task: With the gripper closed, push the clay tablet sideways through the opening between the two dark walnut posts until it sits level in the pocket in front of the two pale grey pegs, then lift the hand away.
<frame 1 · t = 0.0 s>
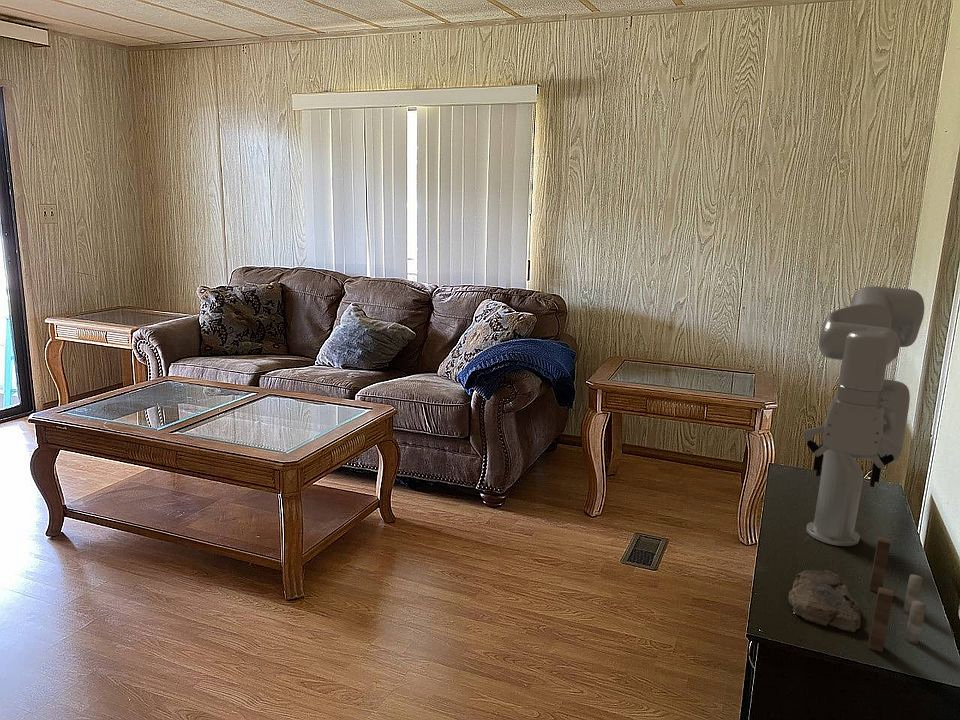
hand: (844, 479, 147), 31 cm above the cabinet, tool pointing down, fingers open, 9 cm apart
clay tablet: (823, 604, 162), on the cabinet
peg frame: (886, 618, 156), on the cabinet
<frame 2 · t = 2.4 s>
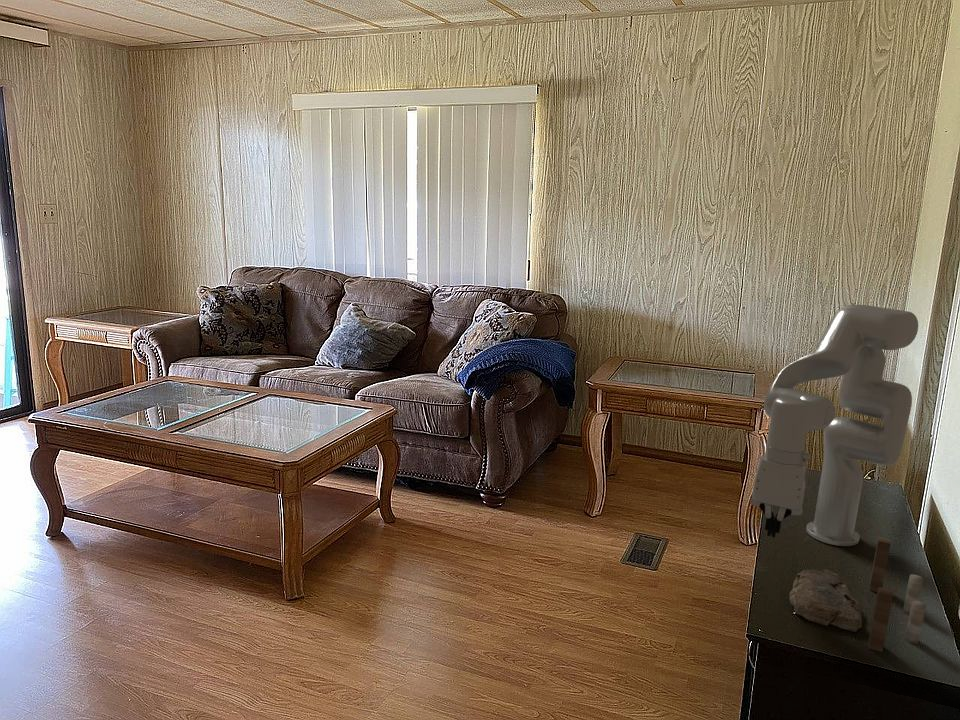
hand: (771, 534, 163), 13 cm above the cabinet, tool pointing down, fingers closed
nothing on the cabinet moved.
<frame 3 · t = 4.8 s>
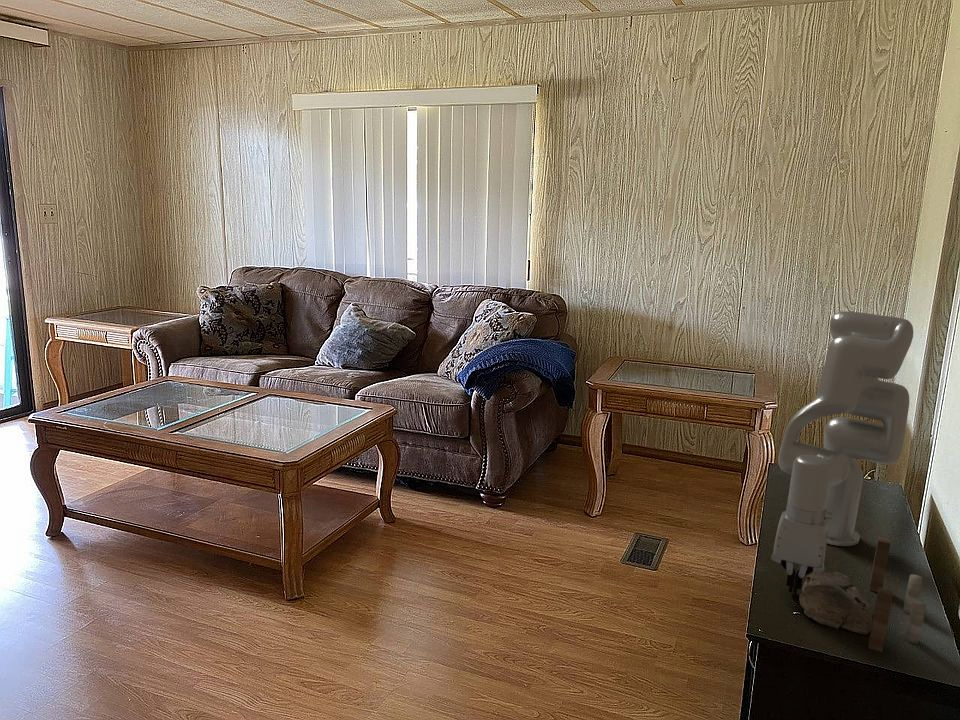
hand: (793, 590, 164), 1 cm above the cabinet, tool pointing down, fingers closed
clay tablet: (833, 606, 161), on the cabinet, touching gripper
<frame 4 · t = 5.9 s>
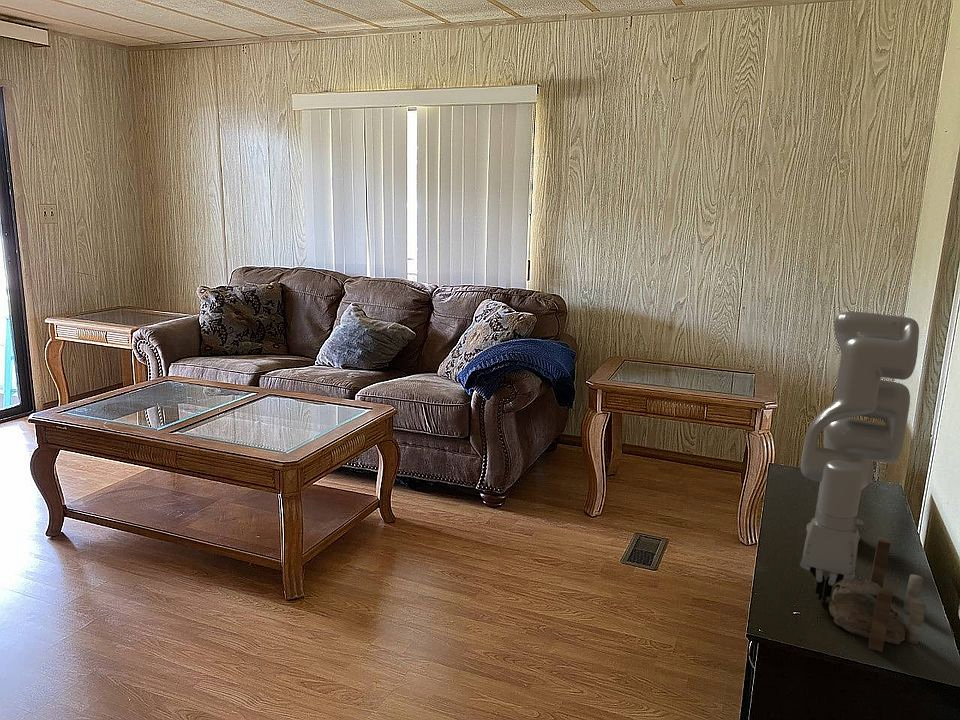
hand: (822, 597, 161), 1 cm above the cabinet, tool pointing down, fingers closed
clay tablet: (864, 615, 158), on the cabinet, touching gripper
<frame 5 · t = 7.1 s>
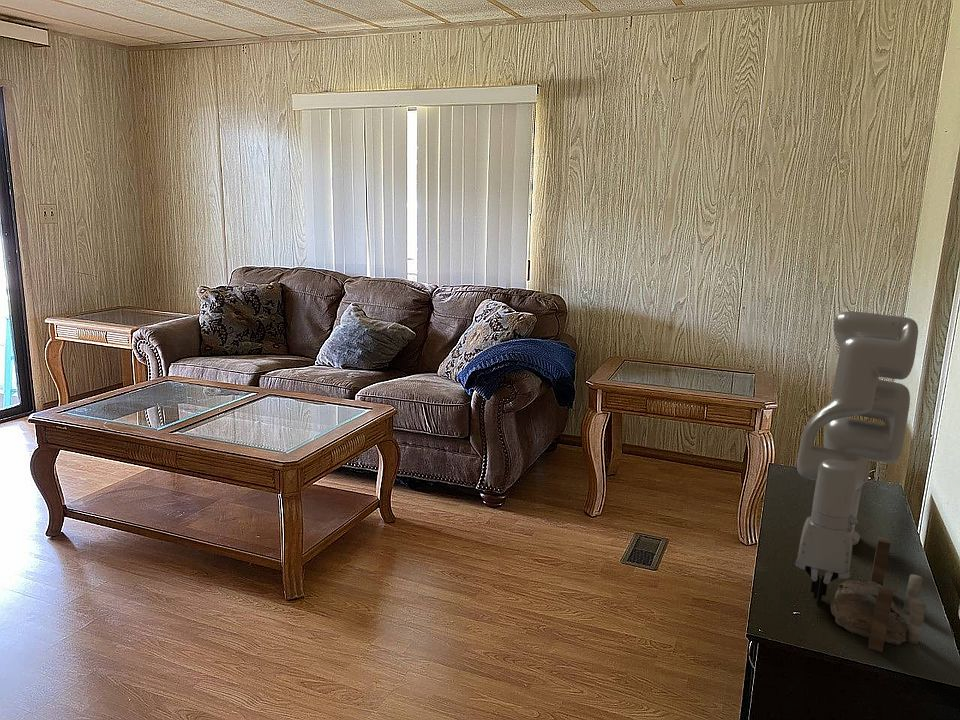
hand: (817, 596, 162), 1 cm above the cabinet, tool pointing down, fingers closed
clay tablet: (866, 616, 158), on the cabinet
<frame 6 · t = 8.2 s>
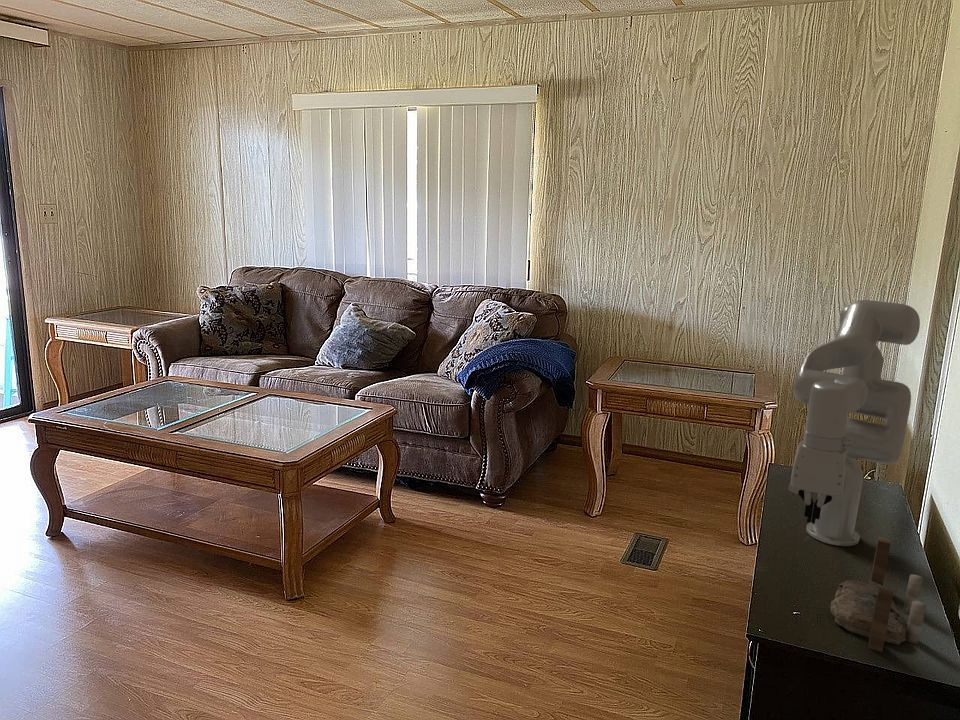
hand: (811, 520, 160), 18 cm above the cabinet, tool pointing down, fingers closed
nothing on the cabinet moved.
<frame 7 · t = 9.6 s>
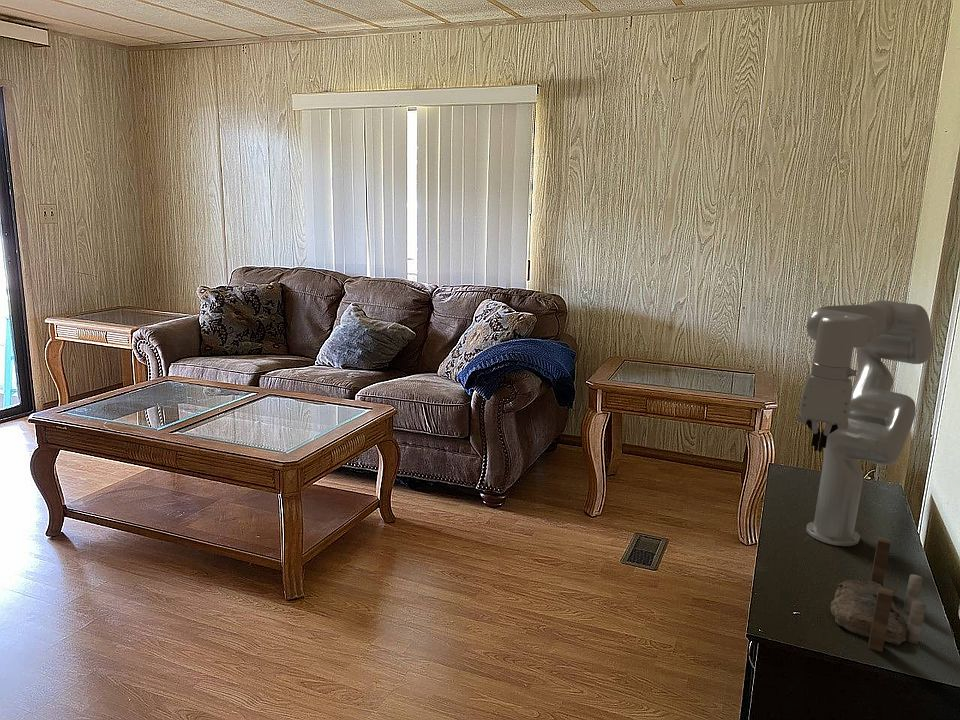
hand: (818, 449, 170), 29 cm above the cabinet, tool pointing down, fingers closed
nothing on the cabinet moved.
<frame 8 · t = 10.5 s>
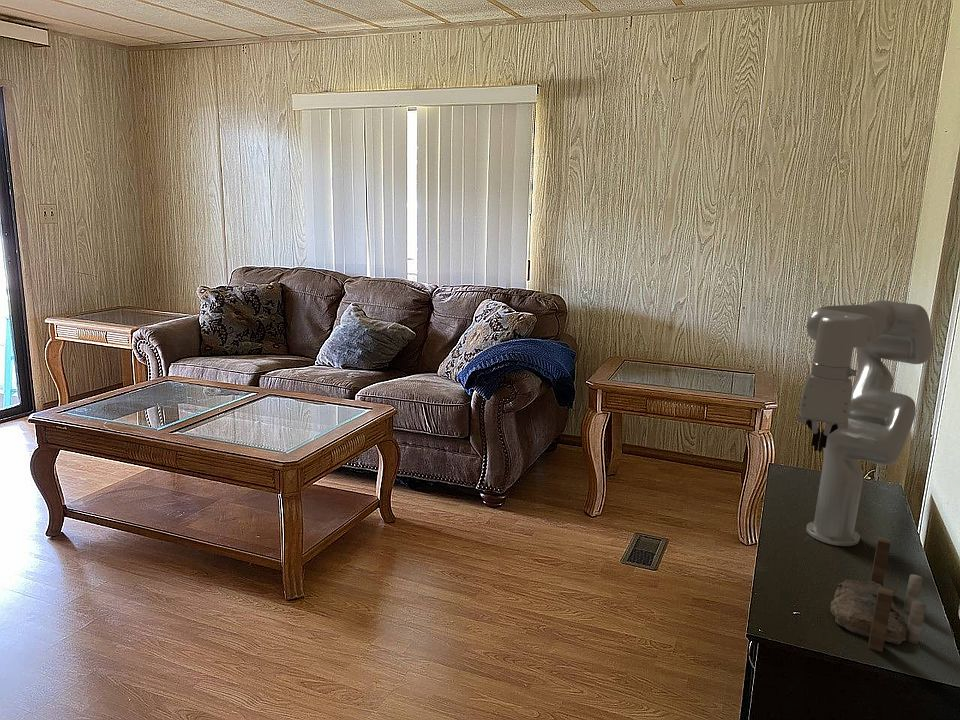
hand: (818, 449, 170), 29 cm above the cabinet, tool pointing down, fingers closed
nothing on the cabinet moved.
at the end: clay tablet inside the target area (0.4 cm from its centre), on the cabinet; clay tablet tilted 1°; clay tablet moved 8.4 cm from its start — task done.
